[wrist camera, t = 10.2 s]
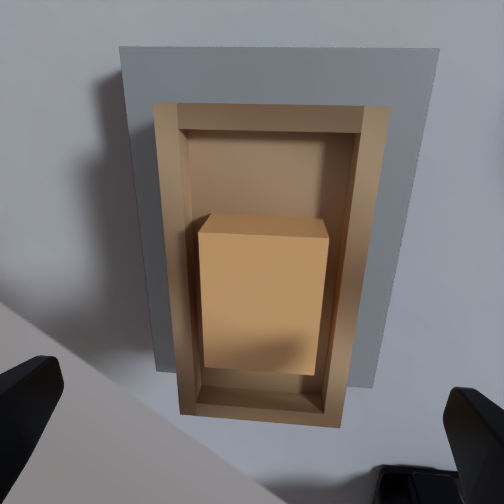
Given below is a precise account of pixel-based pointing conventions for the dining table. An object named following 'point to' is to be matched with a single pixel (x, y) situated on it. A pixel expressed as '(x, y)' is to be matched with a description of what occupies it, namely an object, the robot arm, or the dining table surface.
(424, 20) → the dining table surface
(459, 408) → the robot arm
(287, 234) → the block
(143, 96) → the dock
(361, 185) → the shallow cardboard tray
